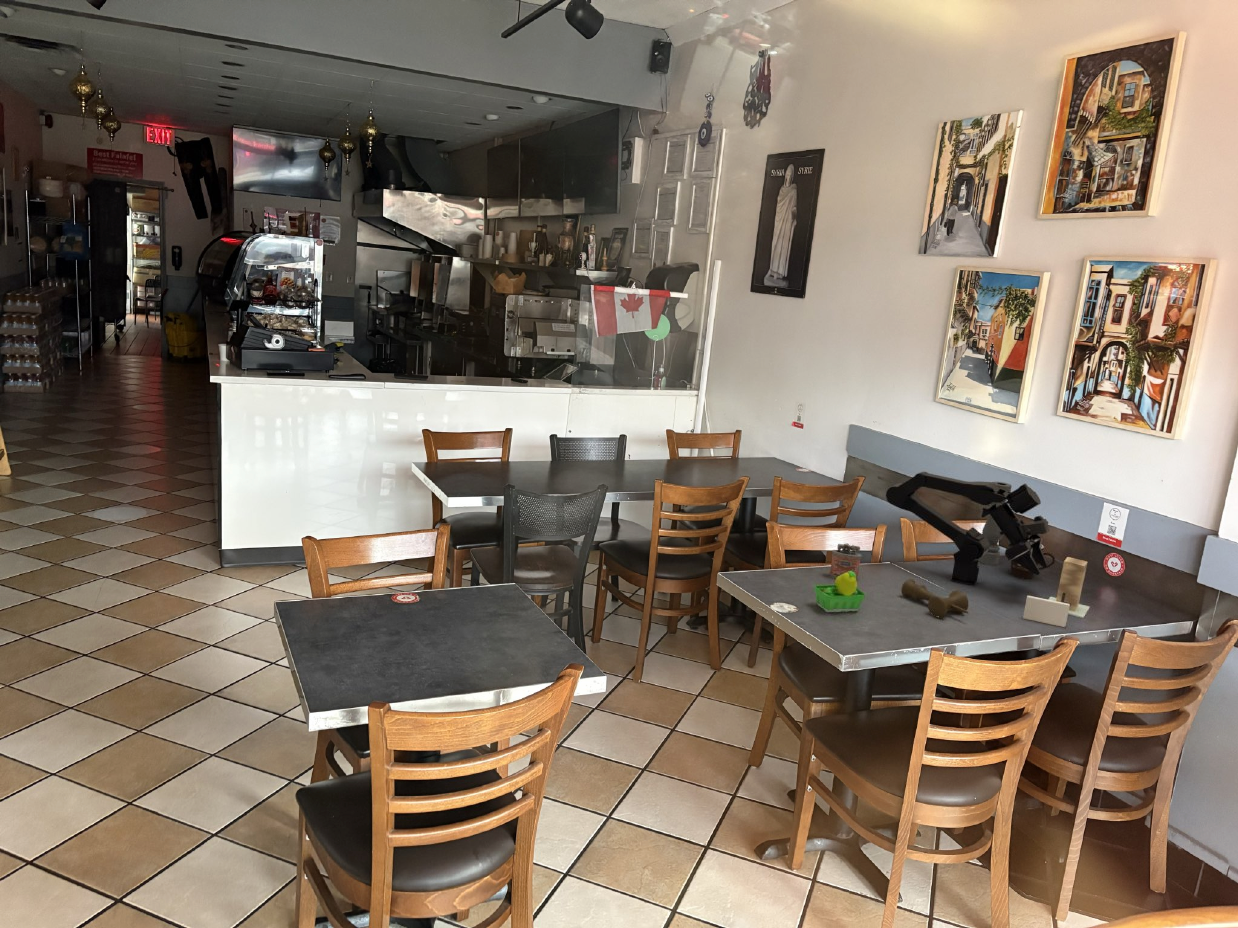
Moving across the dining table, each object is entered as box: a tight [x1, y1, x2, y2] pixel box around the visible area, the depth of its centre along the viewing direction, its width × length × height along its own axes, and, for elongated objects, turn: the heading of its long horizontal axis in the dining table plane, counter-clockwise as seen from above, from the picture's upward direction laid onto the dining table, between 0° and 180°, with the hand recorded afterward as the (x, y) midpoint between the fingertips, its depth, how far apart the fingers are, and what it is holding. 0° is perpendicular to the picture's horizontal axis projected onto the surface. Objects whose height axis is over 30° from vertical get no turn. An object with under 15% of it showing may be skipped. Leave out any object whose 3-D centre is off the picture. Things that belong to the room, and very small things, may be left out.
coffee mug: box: [1009, 544, 1056, 580], centre depth 266 cm, size 12×9×10 cm
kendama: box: [901, 578, 969, 618], centre depth 235 cm, size 6×10×20 cm
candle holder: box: [977, 481, 1012, 566], centre depth 276 cm, size 6×6×25 cm
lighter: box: [828, 543, 863, 582], centre depth 252 cm, size 8×3×10 cm, turn 73°
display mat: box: [1047, 596, 1091, 619], centre depth 244 cm, size 10×10×1 cm
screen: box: [1022, 595, 1070, 628], centre depth 232 cm, size 10×1×6 cm, turn 67°
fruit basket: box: [813, 571, 866, 610], centre depth 228 cm, size 11×9×11 cm
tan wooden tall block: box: [1055, 556, 1088, 611], centre depth 243 cm, size 5×5×13 cm
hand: (1042, 570), depth 247 cm, fingers open, 9 cm apart
